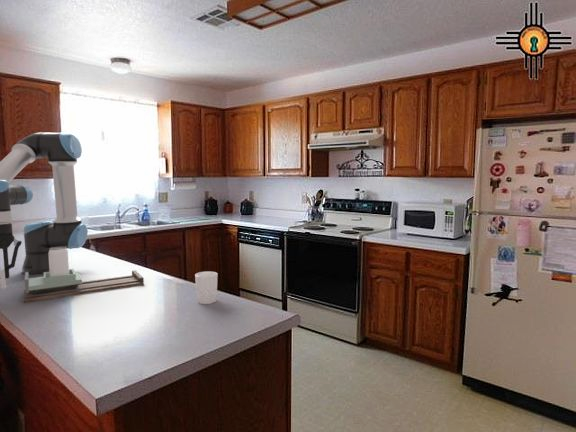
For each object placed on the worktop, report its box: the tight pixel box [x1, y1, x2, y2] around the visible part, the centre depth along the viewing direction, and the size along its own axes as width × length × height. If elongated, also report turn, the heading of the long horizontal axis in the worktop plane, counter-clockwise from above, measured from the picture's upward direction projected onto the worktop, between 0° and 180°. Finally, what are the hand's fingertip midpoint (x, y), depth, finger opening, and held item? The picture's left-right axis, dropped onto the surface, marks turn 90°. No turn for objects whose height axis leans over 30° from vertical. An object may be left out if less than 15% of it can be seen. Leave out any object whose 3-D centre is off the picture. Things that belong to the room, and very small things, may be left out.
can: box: [48, 247, 70, 277], centre depth 149 cm, size 6×6×12 cm
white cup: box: [194, 271, 218, 305], centre depth 139 cm, size 8×8×10 cm
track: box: [23, 269, 145, 303], centre depth 155 cm, size 15×41×3 cm, turn 123°
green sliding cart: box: [24, 268, 83, 294], centre depth 149 cm, size 13×18×6 cm
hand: (3, 287), depth 140 cm, fingers closed
